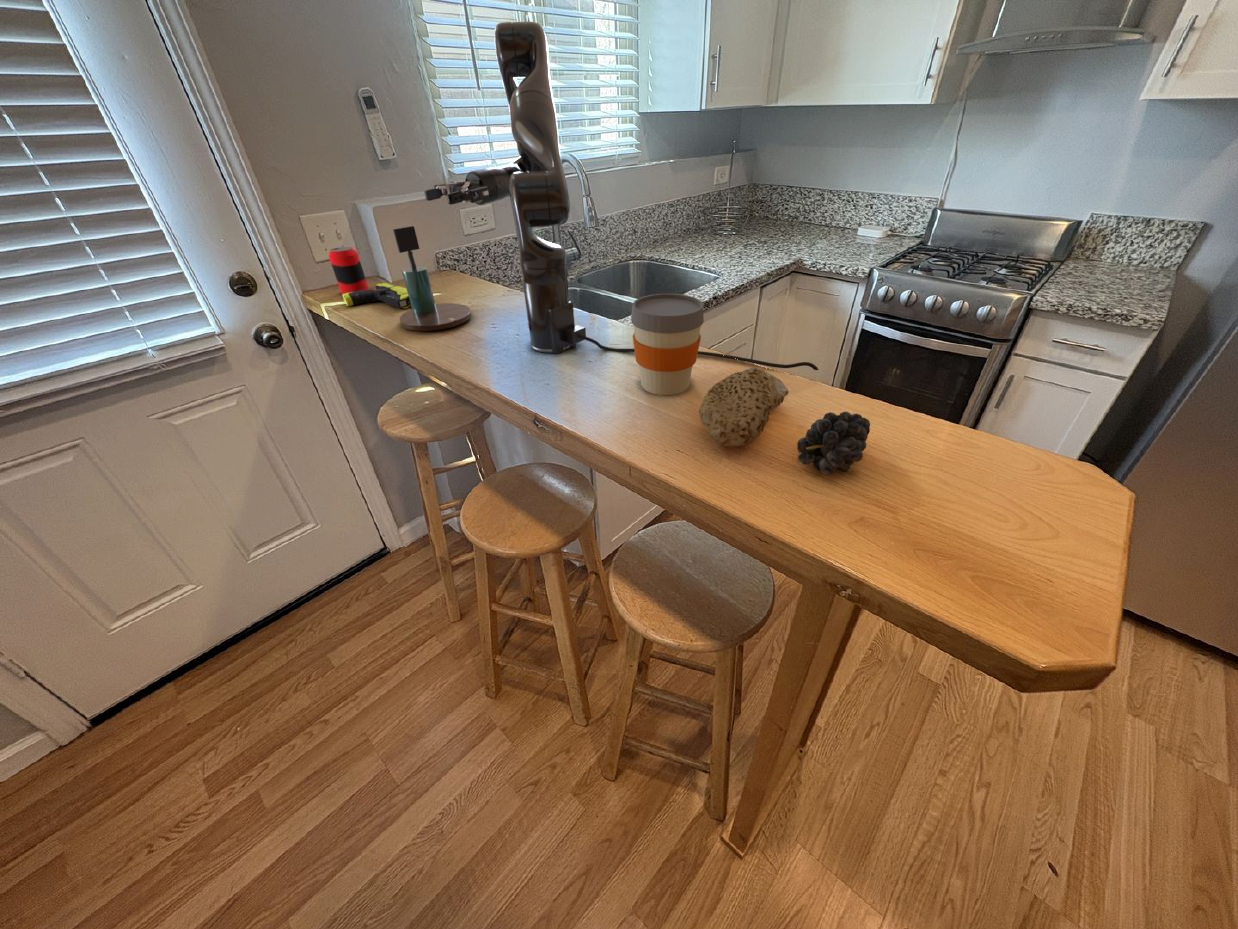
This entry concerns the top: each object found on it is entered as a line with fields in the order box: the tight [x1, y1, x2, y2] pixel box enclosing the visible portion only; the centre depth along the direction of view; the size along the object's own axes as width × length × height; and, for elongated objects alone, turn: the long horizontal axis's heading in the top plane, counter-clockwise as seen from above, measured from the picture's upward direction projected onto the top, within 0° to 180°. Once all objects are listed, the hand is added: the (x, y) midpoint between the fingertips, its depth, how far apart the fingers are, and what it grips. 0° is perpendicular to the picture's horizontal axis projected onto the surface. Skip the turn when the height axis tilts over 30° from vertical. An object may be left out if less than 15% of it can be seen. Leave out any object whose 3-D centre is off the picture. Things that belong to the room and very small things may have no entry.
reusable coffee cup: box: [630, 293, 704, 396], centre depth 87 cm, size 12×13×15 cm
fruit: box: [796, 411, 871, 476], centre depth 69 cm, size 9×8×15 cm
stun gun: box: [341, 282, 411, 309], centre depth 135 cm, size 3×19×15 cm
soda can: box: [328, 246, 370, 295], centre depth 142 cm, size 8×8×12 cm
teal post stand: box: [392, 225, 472, 332], centre depth 117 cm, size 17×17×20 cm
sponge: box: [698, 367, 789, 448], centre depth 78 cm, size 13×8×20 cm
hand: (436, 197), depth 116 cm, fingers open, 8 cm apart
